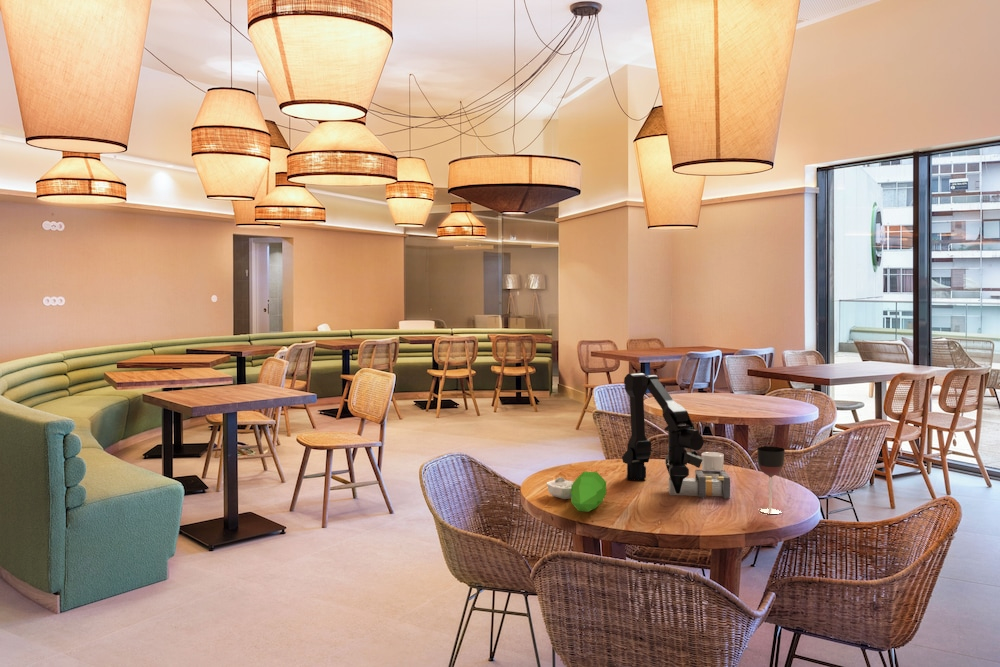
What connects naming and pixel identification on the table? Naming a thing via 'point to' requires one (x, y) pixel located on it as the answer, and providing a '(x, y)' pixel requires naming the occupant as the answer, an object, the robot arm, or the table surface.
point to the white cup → (712, 462)
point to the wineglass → (770, 468)
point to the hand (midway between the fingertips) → (676, 489)
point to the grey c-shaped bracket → (703, 478)
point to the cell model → (560, 488)
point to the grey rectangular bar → (697, 487)
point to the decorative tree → (588, 491)
